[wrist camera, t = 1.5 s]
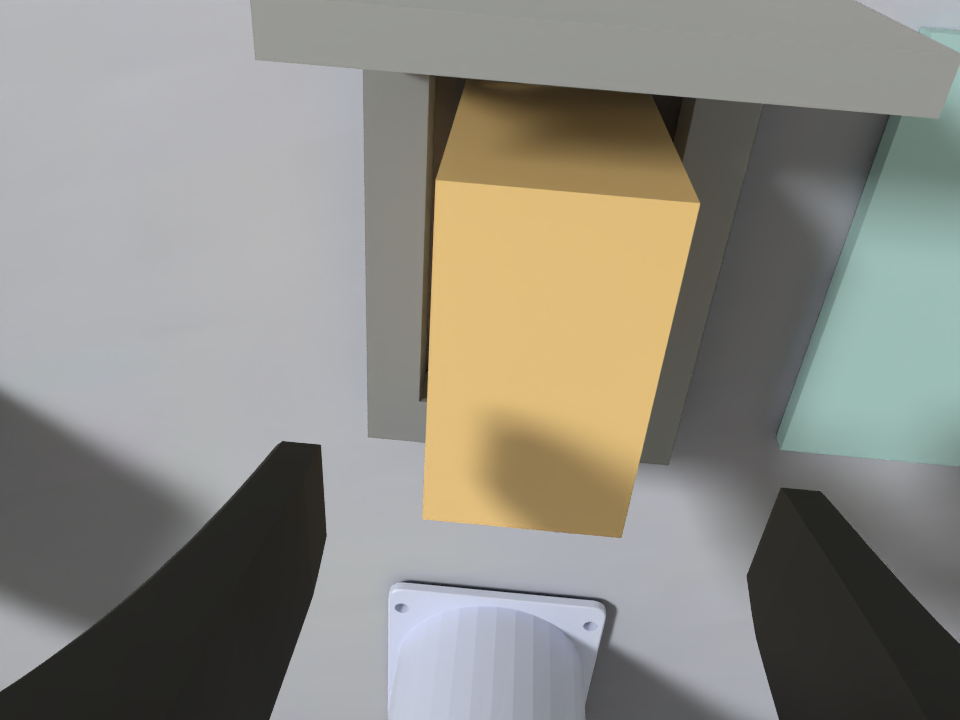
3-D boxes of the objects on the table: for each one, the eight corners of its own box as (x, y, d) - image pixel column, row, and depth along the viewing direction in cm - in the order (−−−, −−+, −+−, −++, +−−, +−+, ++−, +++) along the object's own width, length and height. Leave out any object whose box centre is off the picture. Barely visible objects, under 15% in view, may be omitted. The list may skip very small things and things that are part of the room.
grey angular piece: (661, 433, 25) (715, 691, 17) (376, 407, 25) (306, 651, 17) (779, -37, 17) (963, 55, 10) (373, -71, 17) (250, -7, 10)
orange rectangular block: (600, 366, 24) (621, 538, 18) (451, 352, 24) (422, 519, 18) (651, 93, 19) (699, 203, 13) (466, 77, 19) (435, 180, 13)
